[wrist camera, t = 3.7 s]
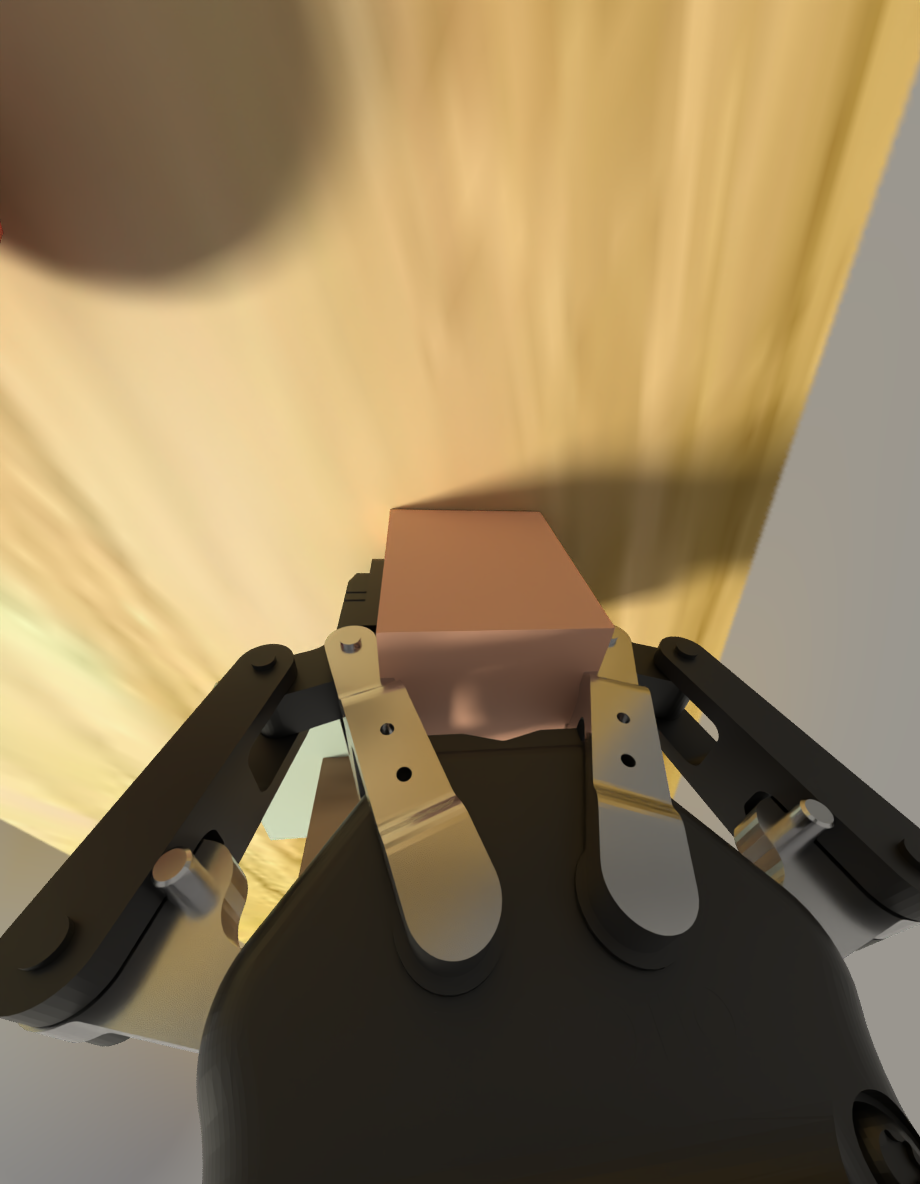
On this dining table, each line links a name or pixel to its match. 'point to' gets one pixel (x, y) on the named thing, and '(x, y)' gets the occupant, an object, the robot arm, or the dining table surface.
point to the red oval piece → (1, 232)
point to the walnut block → (329, 804)
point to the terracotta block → (486, 621)
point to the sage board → (302, 783)
